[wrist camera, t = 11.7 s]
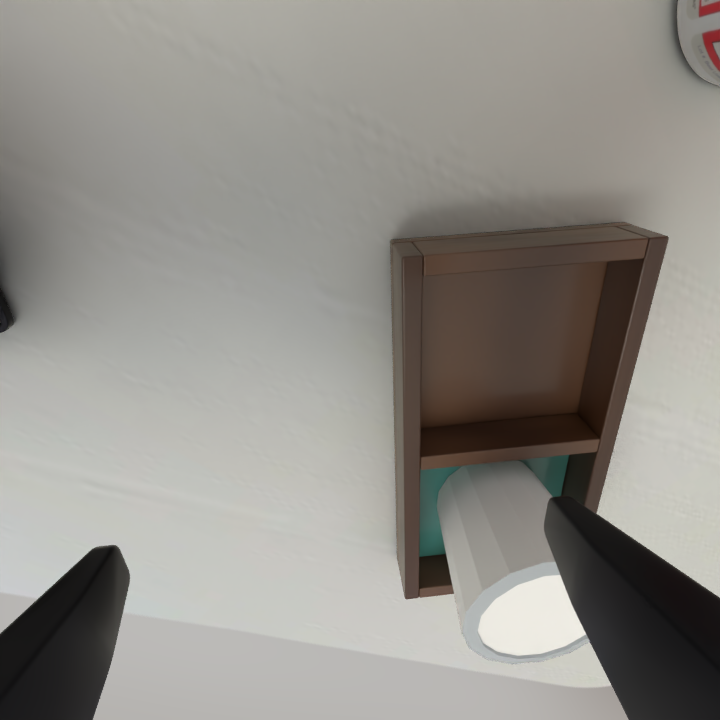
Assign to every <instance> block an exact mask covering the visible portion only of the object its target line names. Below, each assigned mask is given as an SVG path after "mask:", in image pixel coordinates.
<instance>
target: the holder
mask: <svg viewBox="0 0 720 720" xmlns="http://www.w3.org/2000/svg"><path fill="white" fill-rule="evenodd" d="M667 243H668V236H665V235H662V234H659V233H656V232H652V231H649V230H646V229H643V228H640V227H637V226H634V225H631V224H628V223H625V222H621V223H608V224H595V225H581V226H568V227H555V228H541V229H528V230H515V231H501V232H488V233H475V234H461V235H448V236H435V237H422V238H408V239H395V240H391V241H390V254H391V299H392V345H393V391H394V437H395V483H396V529H397V560H398V565H399V570H400V575H401V580H402V586H403V591H404V596H405V599H413V598H418V597H420V598H422V597H430V596H438V595H447V594H454V591H453V586H452V581H451V576H450V571H449V566H448V561H447V556H446V551H445V546H444V541H443V536H442V531H441V526H440V521H439V516H438V511H437V500H438V493H439V490H440V489H441V487H442V486H443V484H444V483H445V481H446V479H447V478H448V477H449V476H450V475H451V474H453V473H454V472H455V471H457V470H458V469H459V468H461V467H462V466H466V465H475V464H485V463H495V462H504V461H514V460H518V461H521V462H523V463H524V464H525V465H526V466H527V467H528V468H529V469H530V470H531V471H532V472H533V473H534V474H535V475H536V477H537V478H538V479H539V480H540V482H541V483H542V484H543V485H544V487H545V488H546V489H547V490H548V492H549V493H550V494H551V495H552V497H558V496H570V497H572V498H574V499H575V500H577V501H578V502H580V503H581V504H583V505H584V506H586V507H587V508H589V509H590V510H592V511H593V512H595V513H597V509H598V505H599V501H600V498H601V494H602V490H603V486H604V482H605V479H606V475H607V471H608V467H609V463H610V459H611V456H612V452H613V448H614V444H615V440H616V437H617V433H618V429H619V425H620V421H621V418H622V414H623V410H624V406H625V402H626V399H627V395H628V391H629V387H630V383H631V380H632V376H633V372H634V368H635V364H636V361H637V357H638V353H639V349H640V345H641V342H642V338H643V334H644V330H645V326H646V323H647V319H648V315H649V311H650V307H651V304H652V300H653V296H654V292H655V288H656V284H657V281H658V277H659V273H660V269H661V265H662V262H663V258H664V254H665V250H666V246H667Z"/></svg>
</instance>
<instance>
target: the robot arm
mask: <svg viewBox="0 0 720 720" xmlns="http://www.w3.org/2000/svg"><path fill="white" fill-rule="evenodd" d="M0 320H1V323H0V333H1V332H4V331H6V330H7V329H9V328H10V327H11V326H12V325H13V323H14V319H13V316H12V313H11V311H10V309H9V307H8V304H7V302H6V300H5V297H4V295H3V293H2V291H1V288H0ZM544 532H545V536H546V539H547V541H548V544H549V547H550V549H551V552H552V554H553V557H554V560H555V562H556V565H557V568H558V570H559V573H560V576H561V578H562V581H563V583H564V586H565V589H566V591H567V594H568V596H569V599H570V601H571V604H572V606H573V608H574V610H575V613H576V615H577V617H578V619H579V621H580V623H581V625H582V627H583V629H584V631H585V633H586V635H587V637H588V639H589V641H590V643H591V645H592V647H593V649H594V651H595V653H596V655H597V657H598V659H599V661H600V663H601V665H602V667H603V669H604V671H605V673H606V675H607V677H608V679H609V681H610V683H611V685H612V687H613V689H614V691H615V693H616V695H617V697H618V699H619V701H620V703H621V705H622V707H623V709H624V711H625V713H626V715H627V717H628V719H629V720H720V598H719V597H718V596H716V595H715V594H713V593H712V592H711V591H709V590H708V589H706V588H705V587H703V586H702V585H700V584H699V583H697V582H696V581H694V580H693V579H691V578H690V577H689V576H687V575H686V574H684V573H683V572H681V571H680V570H678V569H677V568H675V567H674V566H672V565H671V564H669V563H668V562H667V561H665V560H664V559H662V558H661V557H659V556H658V555H656V554H655V553H653V552H652V551H650V550H649V549H647V548H646V547H644V546H643V545H642V544H640V543H639V542H637V541H636V540H634V539H633V538H631V537H630V536H628V535H627V534H625V533H624V532H622V531H621V530H620V529H618V528H617V527H615V526H614V525H612V524H611V523H609V522H608V521H606V520H605V519H603V518H602V517H600V516H599V515H598V514H596V513H595V512H593V511H592V510H590V509H589V508H587V507H586V506H584V505H583V504H581V503H580V502H578V501H577V500H575V499H574V498H572V497H570V496H558V497H552V498H550V499H549V501H548V504H547V510H546V515H545V520H544ZM129 582H130V574H129V570H128V567H127V565H126V563H125V560H124V558H123V556H122V554H121V551H120V549H119V548H118V547H117V546H116V545H108V546H99V547H95V548H94V549H92V550H91V551H90V552H88V553H87V554H86V555H85V556H84V557H83V558H82V559H81V560H80V561H79V562H78V563H77V564H75V565H74V566H73V567H72V568H71V569H70V570H69V571H68V572H67V573H66V574H65V575H64V576H62V577H61V578H60V579H59V580H58V581H57V582H56V583H55V584H54V585H53V586H52V587H50V588H49V589H48V590H47V591H46V592H45V593H44V594H43V595H42V596H41V597H40V598H39V599H37V600H36V601H35V602H34V603H33V604H32V605H31V606H30V607H29V608H28V609H27V610H26V611H25V612H24V613H22V614H21V615H20V616H19V617H18V618H17V619H16V620H15V621H14V622H13V623H11V624H10V625H9V626H8V627H7V628H6V629H5V630H4V631H3V632H2V633H1V634H0V720H93V717H94V714H95V711H96V708H97V705H98V702H99V699H100V696H101V693H102V690H103V687H104V684H105V680H106V678H107V674H108V671H109V668H110V665H111V661H112V657H113V653H114V649H115V645H116V640H117V636H118V631H119V627H120V623H121V618H122V614H123V609H124V605H125V600H126V596H127V591H128V587H129Z"/></svg>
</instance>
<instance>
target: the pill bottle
mask: <svg viewBox="0 0 720 720" xmlns="http://www.w3.org/2000/svg"><path fill="white" fill-rule="evenodd" d="M677 28H678V36H679V41H680V45H681V48H682V51H683V53H684V56H685V58H686V60H687V61H688V63H689V65H690V66H691V67H692V69H693V70H694V71H695V72H696V73H697V74H698V75H699V76H700V77H701V78H702V79H704V80H706V81H708V82H710V83H712V84H715V85H718V86H720V0H678V5H677Z"/></svg>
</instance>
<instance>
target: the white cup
mask: <svg viewBox="0 0 720 720" xmlns="http://www.w3.org/2000/svg"><path fill="white" fill-rule="evenodd" d="M550 498H552V495H551V494H550V493H549V492H548V490H547V489H546V488H545V487H544V485H543V484H542V483H541V482H540V480H539V479H538V478H537V477H536V475H535V474H534V473H533V472H532V471H531V470H530V469H529V468H528V467H527V466H526V465H525V464H524V463H523V462H521V461H518V460H514V461H504V462H495V463H485V464H475V465H466V466H462V467H461V468H459V469H458V470H457V471H455V472H454V473H453V474H451V475H450V476H449V477H448V478H447V479H446V481H445V483H444V484H443V486H442V487H441V489H440V490H439V493H438V500H437V511H438V516H439V521H440V526H441V531H442V536H443V541H444V546H445V551H446V556H447V561H448V566H449V571H450V576H451V581H452V586H453V591H454V597H455V602H456V607H457V612H458V617H459V622H460V627H461V632H462V634H463V636H464V638H465V640H466V642H467V645H468V647H469V649H471V650H472V651H474V652H476V653H477V654H479V655H480V656H482V657H484V658H485V659H487V660H491V661H497V662H503V663H509V664H521V663H532V662H542V661H545V660H548V659H552V658H555V657H558V656H561V655H565V654H568V653H571V652H572V651H574V650H576V649H578V648H580V647H581V646H583V645H585V644H587V643H588V642H590V641H589V639H588V637H587V635H586V633H585V631H584V629H583V627H582V625H581V623H580V621H579V619H578V617H577V615H576V613H575V610H574V608H573V606H572V604H571V601H570V599H569V596H568V594H567V591H566V589H565V586H564V583H563V581H562V578H561V576H560V573H559V570H558V568H557V565H556V562H555V560H554V557H553V554H552V552H551V549H550V547H549V544H548V541H547V539H546V536H545V532H544V520H545V515H546V510H547V504H548V501H549V499H550Z"/></svg>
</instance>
